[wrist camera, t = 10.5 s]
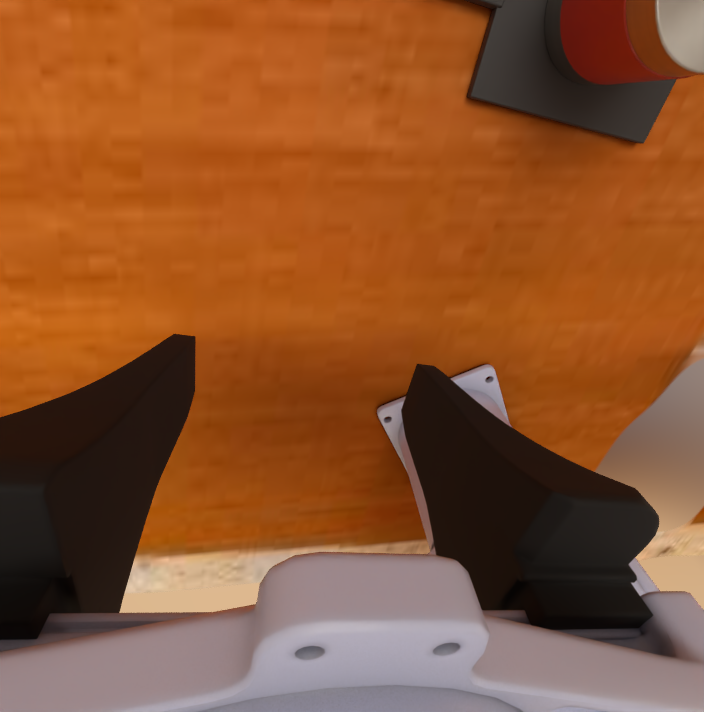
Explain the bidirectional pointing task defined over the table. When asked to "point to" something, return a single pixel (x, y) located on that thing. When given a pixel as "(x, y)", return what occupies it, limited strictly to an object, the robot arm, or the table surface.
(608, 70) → the tin
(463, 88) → the table surface
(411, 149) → the table surface
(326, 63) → the table surface
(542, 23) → the spatula
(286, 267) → the table surface
